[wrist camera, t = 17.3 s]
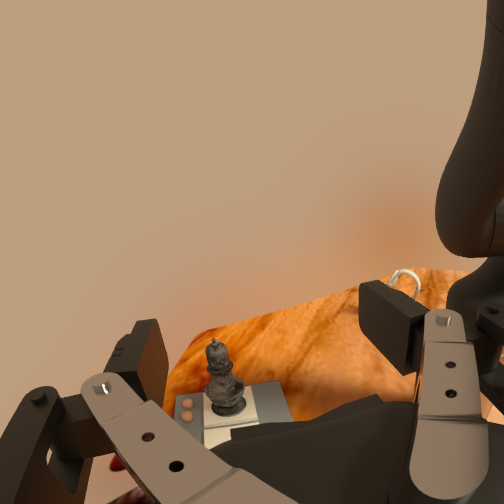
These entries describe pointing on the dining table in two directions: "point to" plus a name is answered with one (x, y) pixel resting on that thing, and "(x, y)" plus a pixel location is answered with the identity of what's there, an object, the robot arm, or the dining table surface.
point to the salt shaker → (223, 382)
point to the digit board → (218, 428)
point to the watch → (397, 274)
